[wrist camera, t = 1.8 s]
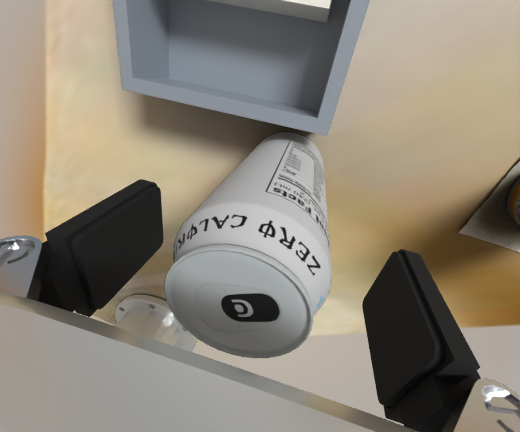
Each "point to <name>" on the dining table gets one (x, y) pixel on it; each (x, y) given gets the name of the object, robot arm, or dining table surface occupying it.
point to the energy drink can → (256, 253)
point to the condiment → (499, 215)
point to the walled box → (241, 55)
